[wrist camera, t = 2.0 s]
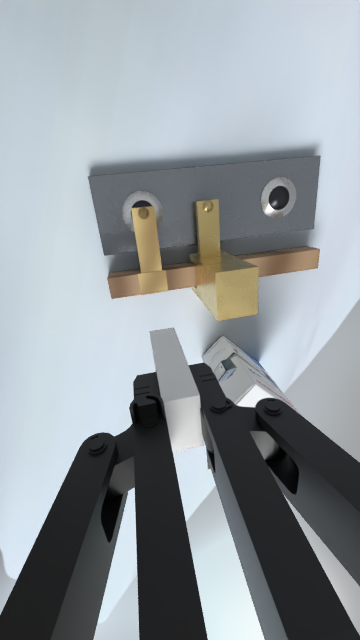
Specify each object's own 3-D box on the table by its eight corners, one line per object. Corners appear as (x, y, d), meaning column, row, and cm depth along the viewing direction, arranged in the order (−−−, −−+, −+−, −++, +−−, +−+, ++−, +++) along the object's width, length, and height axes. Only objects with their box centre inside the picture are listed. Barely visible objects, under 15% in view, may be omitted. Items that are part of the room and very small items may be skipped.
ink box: (259, 362, 42) (304, 415, 32) (237, 385, 43) (274, 444, 33) (221, 333, 39) (257, 381, 29) (198, 359, 40) (225, 414, 30)
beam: (112, 292, 34) (111, 299, 31) (96, 211, 30) (93, 212, 28) (304, 264, 37) (317, 268, 35) (311, 189, 34) (326, 187, 31)
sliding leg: (192, 289, 35) (217, 321, 26) (185, 202, 31) (212, 200, 22) (221, 285, 36) (257, 314, 26) (218, 198, 32) (259, 195, 22)
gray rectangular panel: (104, 253, 32) (104, 255, 31) (89, 177, 29) (87, 176, 28) (307, 228, 36) (314, 228, 34) (313, 157, 32) (321, 155, 31)
